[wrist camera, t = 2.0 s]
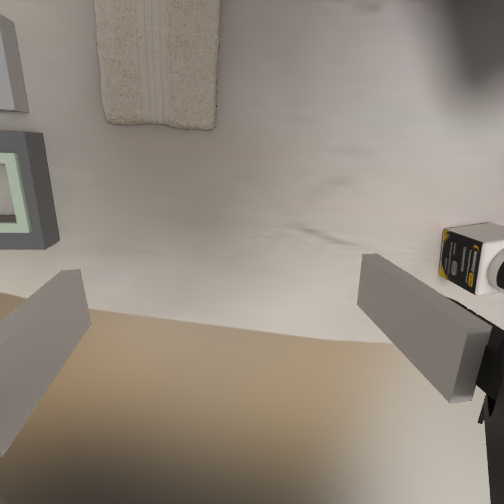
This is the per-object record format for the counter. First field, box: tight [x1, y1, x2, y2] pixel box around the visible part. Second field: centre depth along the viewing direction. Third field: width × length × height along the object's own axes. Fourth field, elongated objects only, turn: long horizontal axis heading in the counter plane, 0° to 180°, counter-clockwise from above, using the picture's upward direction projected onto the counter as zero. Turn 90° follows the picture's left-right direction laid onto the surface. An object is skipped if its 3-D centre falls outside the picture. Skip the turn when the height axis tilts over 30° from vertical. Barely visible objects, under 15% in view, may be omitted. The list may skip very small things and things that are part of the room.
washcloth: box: [94, 0, 221, 131], centre depth 31 cm, size 12×18×3 cm, turn 176°
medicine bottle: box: [439, 223, 504, 296], centre depth 39 cm, size 7×7×12 cm
